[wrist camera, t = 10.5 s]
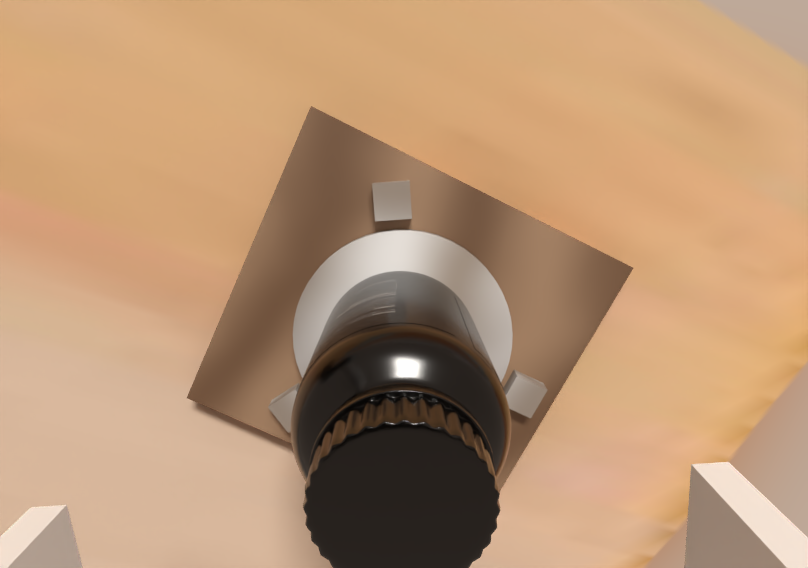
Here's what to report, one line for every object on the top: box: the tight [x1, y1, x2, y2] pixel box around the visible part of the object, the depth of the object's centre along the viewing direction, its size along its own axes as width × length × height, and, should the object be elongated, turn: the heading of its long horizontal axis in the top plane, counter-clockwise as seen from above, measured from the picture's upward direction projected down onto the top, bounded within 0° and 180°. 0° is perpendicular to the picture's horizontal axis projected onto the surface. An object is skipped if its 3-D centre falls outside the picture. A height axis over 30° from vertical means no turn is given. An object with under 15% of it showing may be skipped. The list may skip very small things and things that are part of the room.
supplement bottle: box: [291, 271, 511, 568], centre depth 19 cm, size 7×7×12 cm
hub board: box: [187, 106, 633, 491], centre depth 25 cm, size 16×15×2 cm
